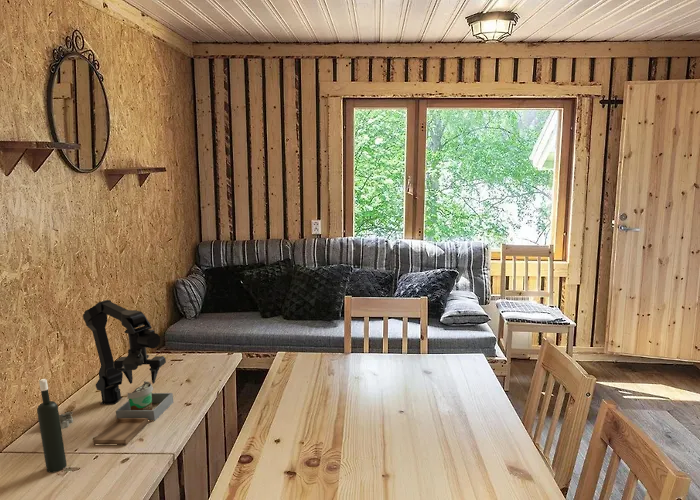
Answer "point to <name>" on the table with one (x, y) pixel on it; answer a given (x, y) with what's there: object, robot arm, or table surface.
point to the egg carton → (66, 419)
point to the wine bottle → (50, 431)
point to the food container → (141, 397)
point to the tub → (161, 398)
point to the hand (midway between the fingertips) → (142, 383)
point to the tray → (121, 431)
